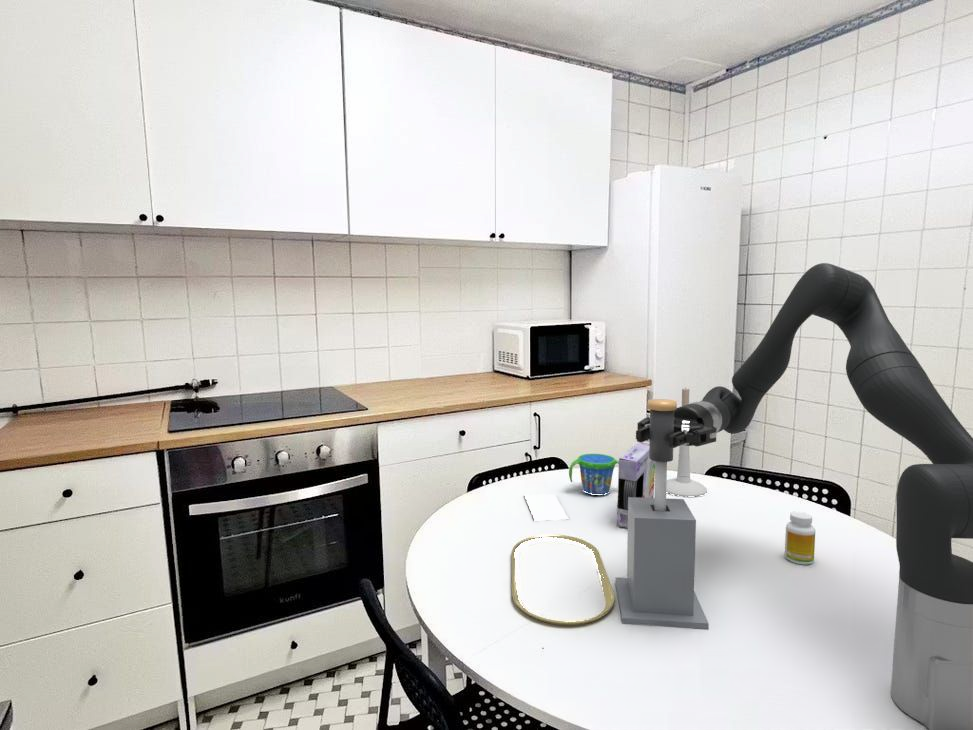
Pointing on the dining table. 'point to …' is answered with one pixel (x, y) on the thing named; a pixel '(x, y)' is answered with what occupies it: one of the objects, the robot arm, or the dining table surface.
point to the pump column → (660, 567)
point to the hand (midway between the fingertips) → (654, 439)
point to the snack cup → (595, 472)
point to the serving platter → (605, 581)
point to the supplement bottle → (800, 539)
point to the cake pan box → (634, 479)
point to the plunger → (661, 445)
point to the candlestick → (684, 469)
